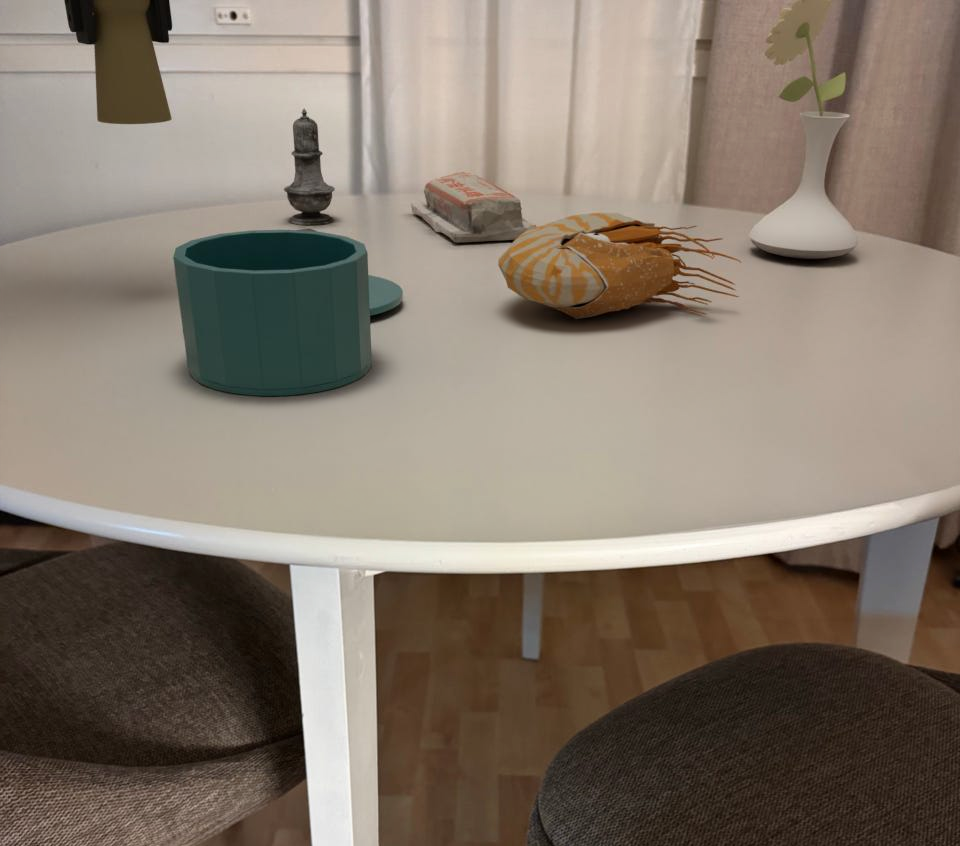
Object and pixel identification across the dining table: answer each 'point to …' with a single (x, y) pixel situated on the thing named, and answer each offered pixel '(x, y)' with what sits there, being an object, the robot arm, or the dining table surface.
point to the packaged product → (471, 209)
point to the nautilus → (599, 264)
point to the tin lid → (381, 293)
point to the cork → (127, 65)
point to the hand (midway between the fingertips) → (123, 39)
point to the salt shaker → (308, 176)
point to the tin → (274, 311)
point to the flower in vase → (807, 149)
